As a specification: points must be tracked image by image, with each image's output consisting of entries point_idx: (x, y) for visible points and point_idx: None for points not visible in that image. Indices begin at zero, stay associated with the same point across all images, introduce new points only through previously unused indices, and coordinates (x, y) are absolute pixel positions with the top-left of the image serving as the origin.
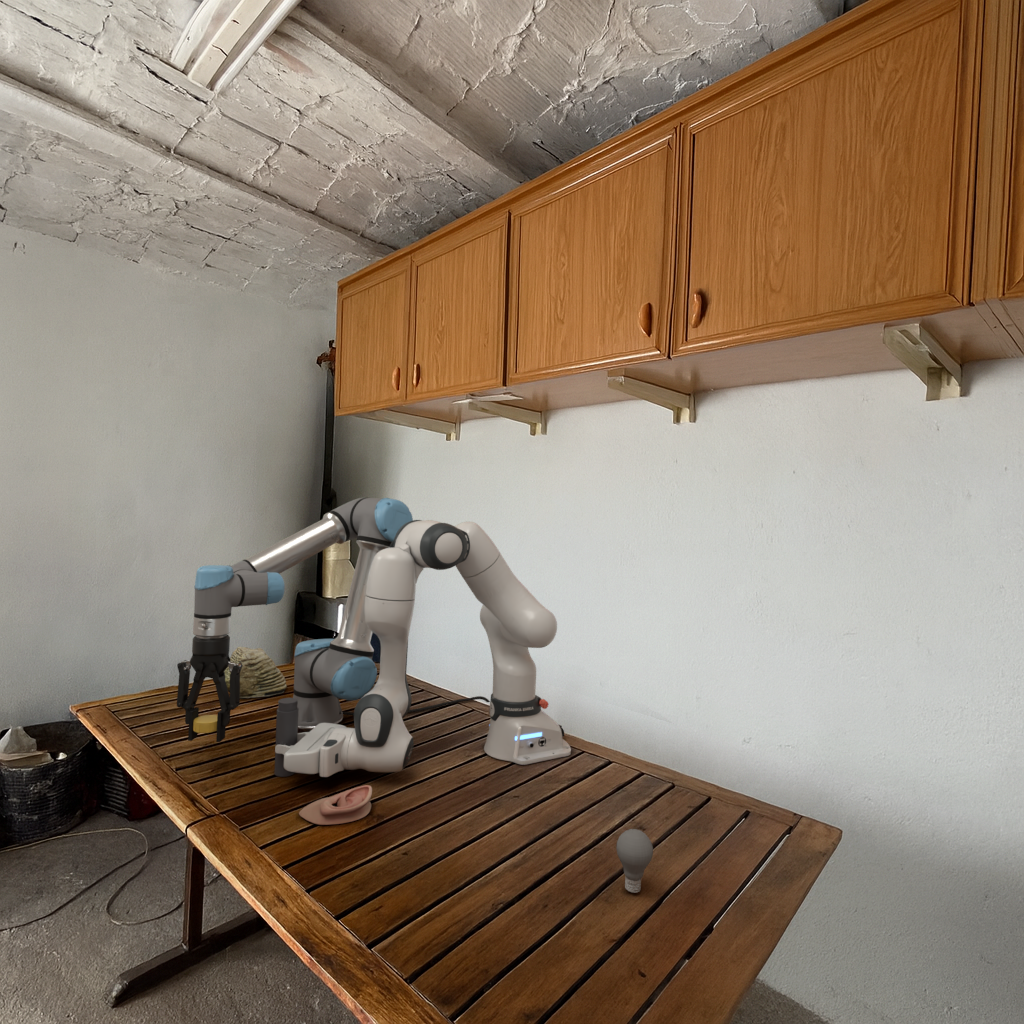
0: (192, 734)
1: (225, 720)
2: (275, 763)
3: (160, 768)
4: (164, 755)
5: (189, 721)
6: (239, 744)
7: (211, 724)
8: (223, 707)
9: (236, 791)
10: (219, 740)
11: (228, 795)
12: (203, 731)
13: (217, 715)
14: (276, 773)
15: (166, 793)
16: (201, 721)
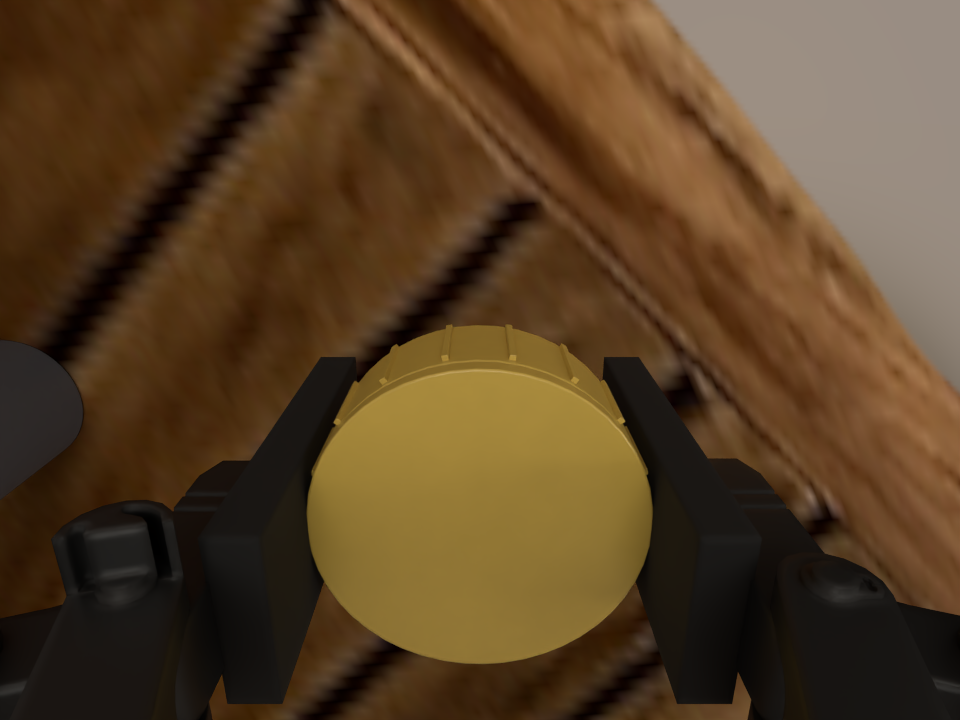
0: (614, 392)
1: (206, 501)
2: (9, 391)
3: (794, 391)
4: (835, 553)
5: (695, 451)
6: (477, 709)
7: (361, 401)
8: (114, 615)
9: (165, 105)
10: (319, 362)
11: (184, 38)
12: (449, 326)
13: (416, 652)
14: (33, 356)
15: (610, 34)
16: (512, 429)
